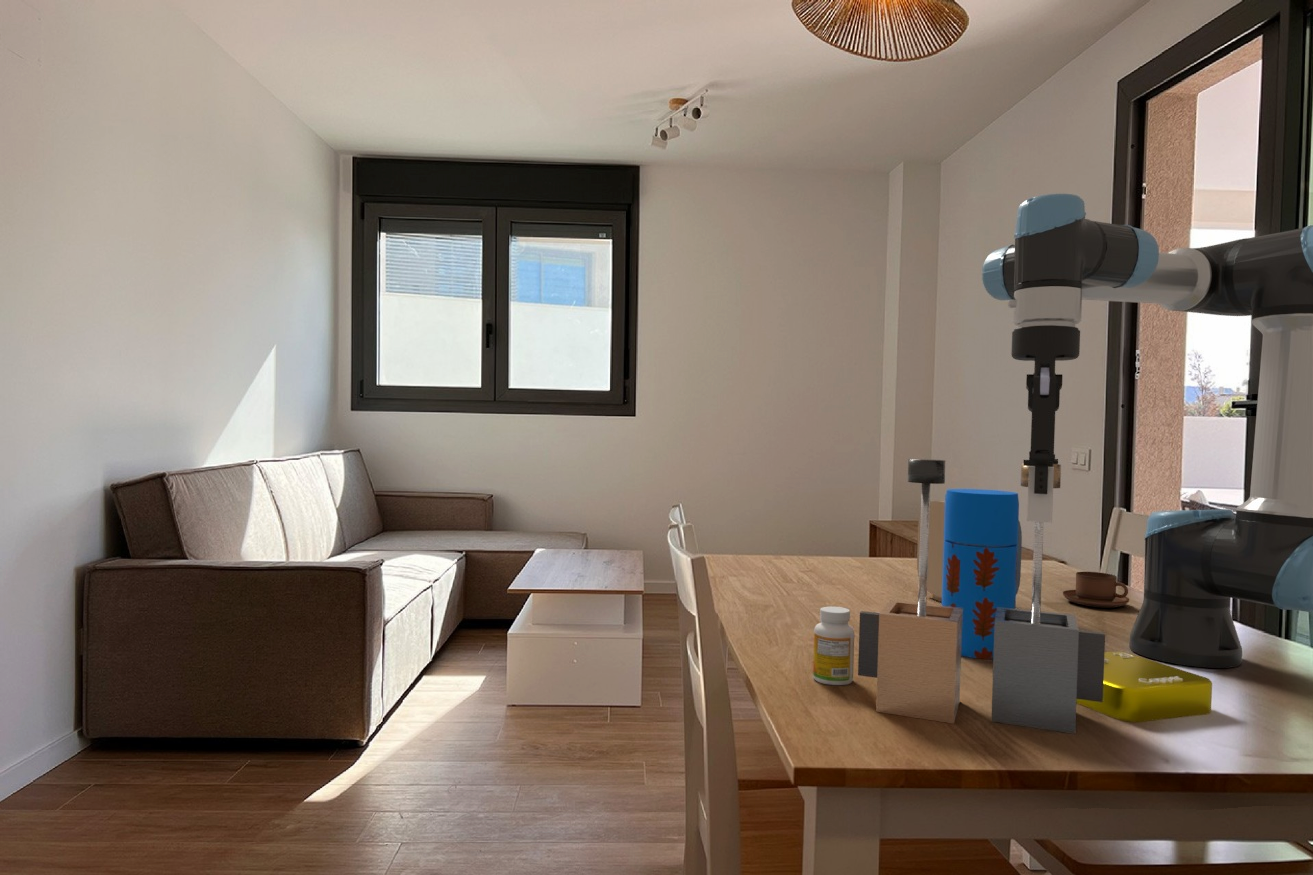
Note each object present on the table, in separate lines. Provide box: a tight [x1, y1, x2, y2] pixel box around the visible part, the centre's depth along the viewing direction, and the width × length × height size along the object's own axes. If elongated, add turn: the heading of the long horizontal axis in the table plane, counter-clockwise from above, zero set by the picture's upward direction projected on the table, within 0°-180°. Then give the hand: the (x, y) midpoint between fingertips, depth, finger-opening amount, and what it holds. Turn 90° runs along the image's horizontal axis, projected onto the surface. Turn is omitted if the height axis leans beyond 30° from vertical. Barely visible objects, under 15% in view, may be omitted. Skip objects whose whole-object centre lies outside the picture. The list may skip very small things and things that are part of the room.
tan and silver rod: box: [1009, 462, 1062, 627], centre depth 105 cm, size 6×6×21 cm
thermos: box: [941, 488, 1020, 660], centre depth 135 cm, size 11×11×25 cm
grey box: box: [991, 607, 1106, 735], centre depth 104 cm, size 12×9×12 cm
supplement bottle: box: [812, 606, 855, 686], centre depth 118 cm, size 5×5×10 cm
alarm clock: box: [916, 493, 1023, 603], centre depth 171 cm, size 21×10×22 cm, turn 15°
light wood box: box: [857, 599, 963, 724], centre depth 108 cm, size 12×9×12 cm
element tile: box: [1076, 650, 1213, 723], centre depth 113 cm, size 15×15×5 cm
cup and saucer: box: [1062, 571, 1130, 609], centre depth 174 cm, size 12×12×6 cm
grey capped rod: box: [900, 458, 949, 620], centre depth 107 cm, size 6×6×21 cm
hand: (1039, 519), depth 105 cm, fingers closed on tan and silver rod, 4 cm apart
